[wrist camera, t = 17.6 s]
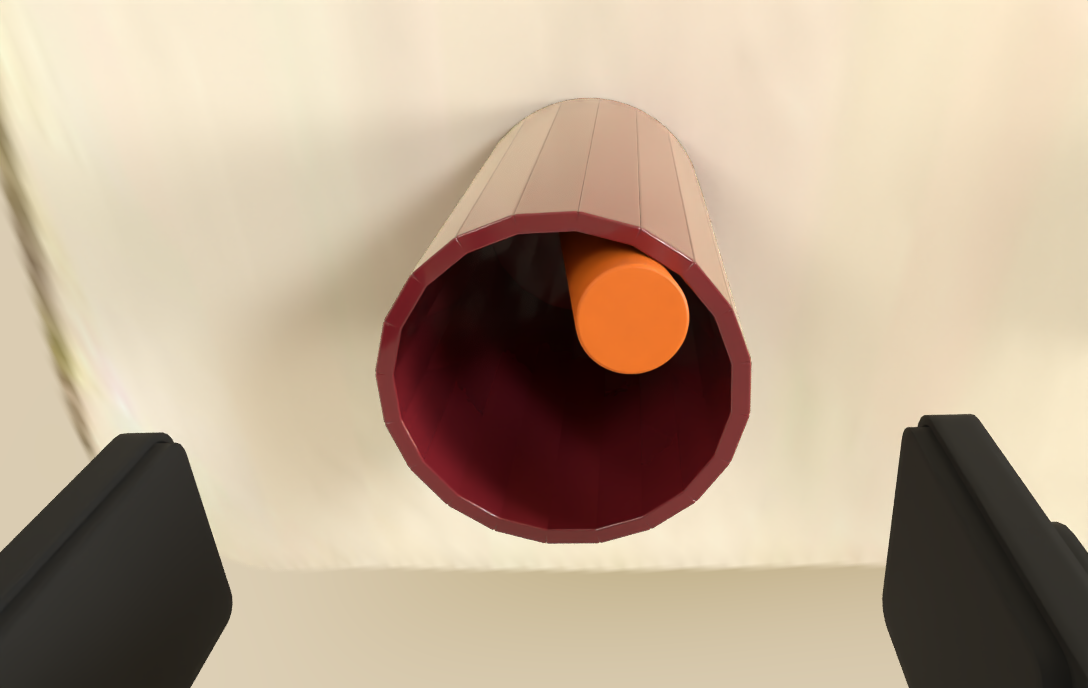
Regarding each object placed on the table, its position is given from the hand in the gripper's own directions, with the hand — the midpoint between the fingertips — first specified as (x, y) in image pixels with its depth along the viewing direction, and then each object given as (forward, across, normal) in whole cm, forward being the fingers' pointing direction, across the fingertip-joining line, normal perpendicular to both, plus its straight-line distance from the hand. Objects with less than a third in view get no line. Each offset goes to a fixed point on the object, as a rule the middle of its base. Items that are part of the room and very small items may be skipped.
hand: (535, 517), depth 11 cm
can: (+16, 0, +1) cm, 16 cm away
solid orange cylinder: (+15, 0, +1) cm, 15 cm away
